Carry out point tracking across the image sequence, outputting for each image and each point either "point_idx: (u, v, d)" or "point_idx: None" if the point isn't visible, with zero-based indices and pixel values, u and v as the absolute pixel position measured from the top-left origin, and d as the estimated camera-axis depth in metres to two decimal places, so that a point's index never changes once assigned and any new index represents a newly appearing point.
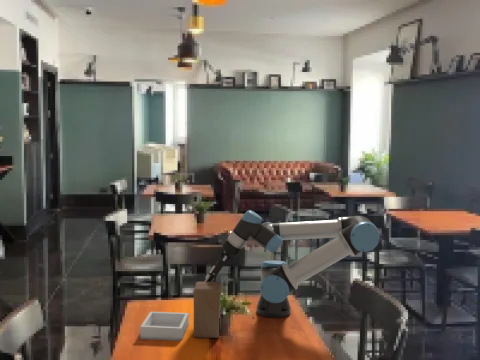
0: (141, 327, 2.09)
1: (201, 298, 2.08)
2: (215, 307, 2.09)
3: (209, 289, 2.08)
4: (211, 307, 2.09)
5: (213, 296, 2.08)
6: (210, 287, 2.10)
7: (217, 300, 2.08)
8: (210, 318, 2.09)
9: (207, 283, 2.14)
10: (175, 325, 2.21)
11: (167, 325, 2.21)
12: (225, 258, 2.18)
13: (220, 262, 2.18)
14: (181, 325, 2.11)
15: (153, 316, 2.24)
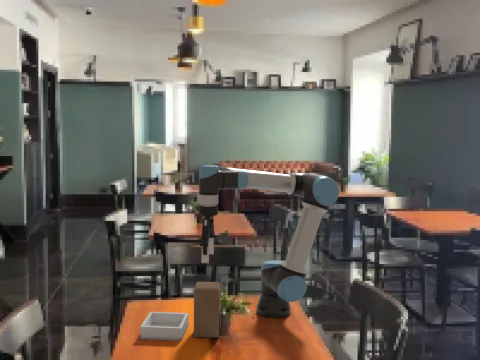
0: (141, 327, 2.09)
1: (201, 298, 2.09)
2: (215, 307, 2.09)
3: (209, 289, 2.09)
4: (211, 306, 2.09)
5: (213, 295, 2.09)
6: (210, 287, 2.11)
7: (217, 300, 2.09)
8: (210, 318, 2.10)
9: (207, 283, 2.15)
10: (175, 325, 2.21)
11: (167, 325, 2.21)
12: (206, 222, 2.04)
13: (203, 228, 2.03)
14: (181, 325, 2.11)
15: (153, 316, 2.24)
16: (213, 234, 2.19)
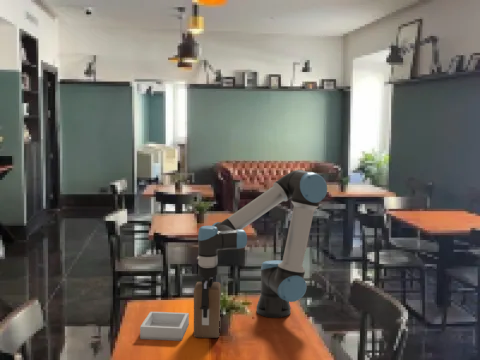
0: (141, 327, 2.09)
1: (201, 298, 2.09)
2: (215, 307, 2.09)
3: (209, 289, 2.09)
4: (211, 306, 2.09)
5: (213, 295, 2.09)
6: None
7: (217, 300, 2.09)
8: (210, 318, 2.10)
9: None
10: (175, 325, 2.21)
11: (167, 325, 2.21)
12: (205, 285, 2.06)
13: (203, 292, 2.06)
14: (181, 325, 2.11)
15: (153, 316, 2.24)
16: None
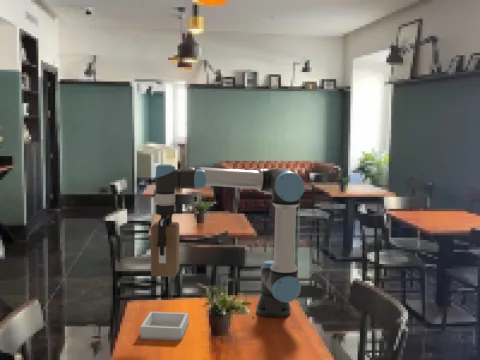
0: (141, 327, 2.09)
1: None
2: (172, 244, 2.07)
3: (166, 226, 2.07)
4: (168, 244, 2.07)
5: (170, 233, 2.07)
6: (168, 225, 2.09)
7: (174, 237, 2.07)
8: (167, 256, 2.08)
9: None
10: (175, 325, 2.21)
11: (167, 325, 2.21)
12: (162, 222, 2.05)
13: (160, 229, 2.05)
14: (181, 325, 2.11)
15: (153, 316, 2.24)
16: None
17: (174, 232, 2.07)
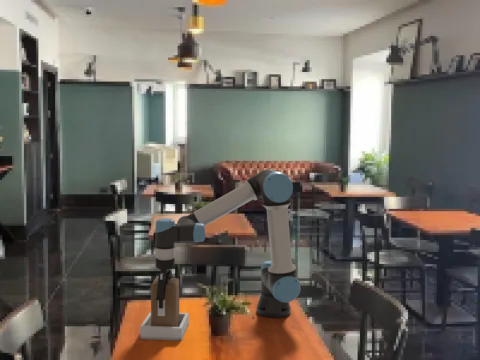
0: (141, 327, 2.09)
1: None
2: (172, 302, 2.10)
3: (166, 284, 2.10)
4: (168, 302, 2.10)
5: (169, 291, 2.10)
6: (168, 283, 2.12)
7: (174, 295, 2.10)
8: (167, 314, 2.11)
9: None
10: None
11: None
12: (161, 276, 2.07)
13: (159, 282, 2.07)
14: (181, 325, 2.11)
15: None
16: None
17: (174, 290, 2.10)
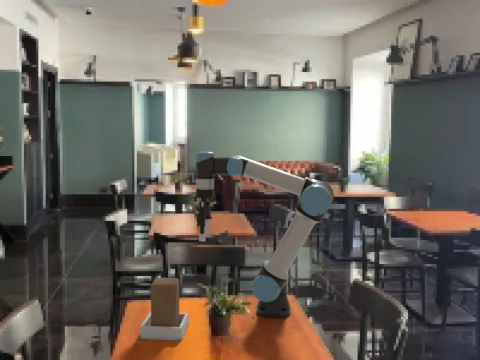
0: (141, 327, 2.09)
1: (158, 294, 2.10)
2: (172, 302, 2.10)
3: (166, 284, 2.10)
4: (168, 302, 2.10)
5: (169, 291, 2.10)
6: (168, 283, 2.12)
7: (174, 295, 2.10)
8: (167, 314, 2.11)
9: (165, 279, 2.16)
10: None
11: None
12: (203, 203, 2.22)
13: (201, 209, 2.22)
14: (181, 325, 2.11)
15: None
16: (209, 216, 2.37)
17: (174, 290, 2.10)
